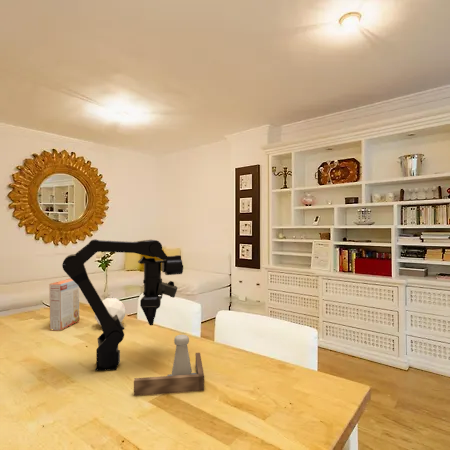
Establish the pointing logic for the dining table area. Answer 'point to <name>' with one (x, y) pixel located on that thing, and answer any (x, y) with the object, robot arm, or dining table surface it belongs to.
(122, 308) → the geodesic sphere
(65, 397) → the dining table surface
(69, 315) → the cracker box
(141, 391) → the corner walls
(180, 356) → the salt shaker
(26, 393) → the dining table surface
